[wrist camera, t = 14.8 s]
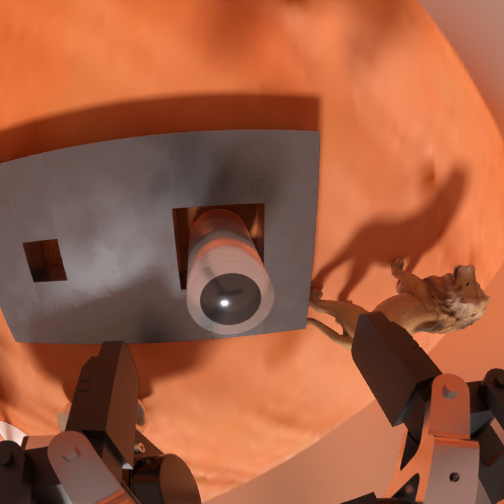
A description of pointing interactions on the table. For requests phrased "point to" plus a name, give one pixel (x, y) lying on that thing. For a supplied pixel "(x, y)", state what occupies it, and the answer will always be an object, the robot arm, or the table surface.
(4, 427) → the champagne flute
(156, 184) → the grey board with holes
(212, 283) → the flashlight
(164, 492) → the security camera
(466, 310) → the lion figurine
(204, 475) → the table surface
